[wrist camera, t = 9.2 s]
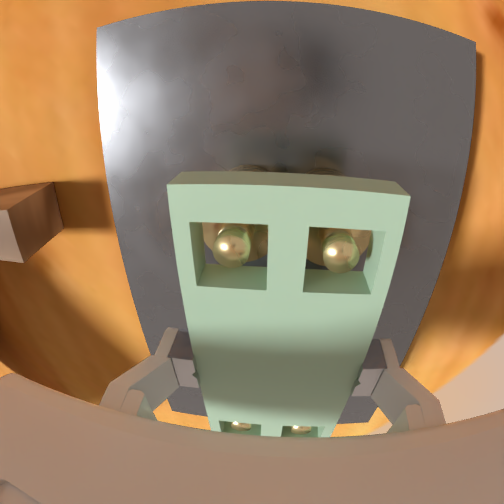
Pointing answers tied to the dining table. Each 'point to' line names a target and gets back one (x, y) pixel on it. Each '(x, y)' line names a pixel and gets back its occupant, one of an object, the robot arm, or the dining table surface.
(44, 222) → the stand
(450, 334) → the dining table surface
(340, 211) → the board
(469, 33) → the dining table surface
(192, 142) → the peg assembly base
